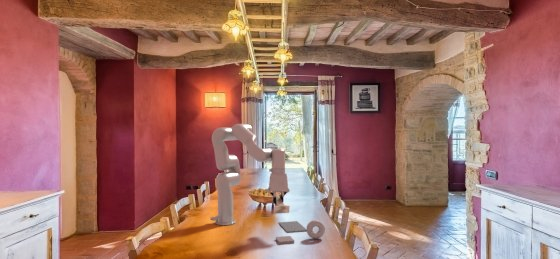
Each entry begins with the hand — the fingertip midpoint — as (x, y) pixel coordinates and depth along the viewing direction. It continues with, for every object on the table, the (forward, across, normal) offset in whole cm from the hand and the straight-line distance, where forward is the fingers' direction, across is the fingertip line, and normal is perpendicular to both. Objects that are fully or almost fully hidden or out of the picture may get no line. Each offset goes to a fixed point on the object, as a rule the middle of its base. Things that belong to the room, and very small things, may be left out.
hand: (278, 203), depth 189 cm
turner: (+2, 0, 0) cm, 2 cm away
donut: (+17, +17, -14) cm, 28 cm away
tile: (+16, 0, -10) cm, 19 cm away
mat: (+17, +11, +10) cm, 23 cm away
